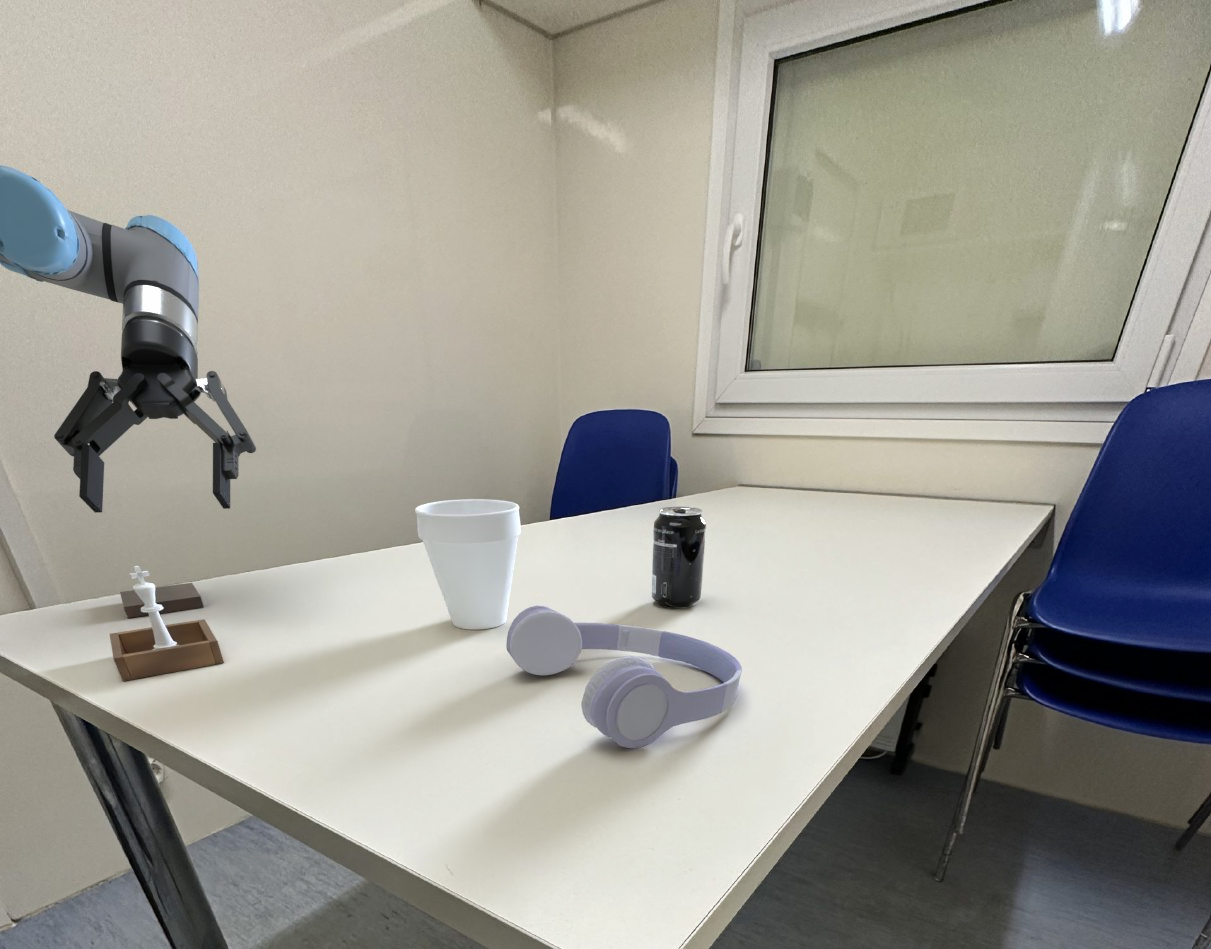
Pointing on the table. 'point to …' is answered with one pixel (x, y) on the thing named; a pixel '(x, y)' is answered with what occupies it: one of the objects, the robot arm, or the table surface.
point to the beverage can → (678, 556)
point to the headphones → (625, 673)
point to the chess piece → (152, 609)
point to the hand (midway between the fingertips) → (157, 503)
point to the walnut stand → (164, 599)
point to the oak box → (164, 650)
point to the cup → (472, 556)
